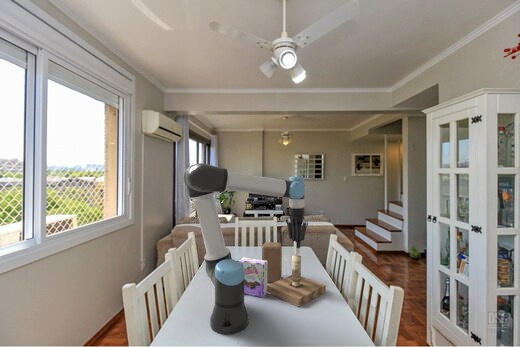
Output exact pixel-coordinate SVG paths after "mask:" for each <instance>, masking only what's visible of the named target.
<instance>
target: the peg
mask: <svg viewBox="0 0 520 347" xmlns="http://www.w3.org/2000/svg"><path fill="white" fill-rule="evenodd" d="M301 266H302V256H301V255H299V254H297V255H295V254H293V255H292V256H291V275H292V281H293V282H292V287H295V288H299V287H300V286H301V284H300V281H301V276H302V267H301Z"/></svg>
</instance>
